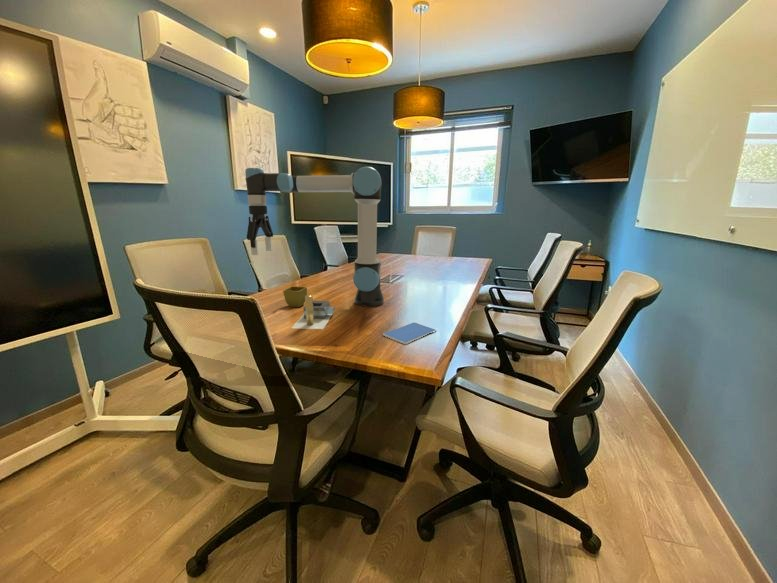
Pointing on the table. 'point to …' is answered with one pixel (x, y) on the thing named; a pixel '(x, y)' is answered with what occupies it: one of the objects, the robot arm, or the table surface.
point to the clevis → (320, 309)
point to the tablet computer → (408, 333)
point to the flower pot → (295, 296)
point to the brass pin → (309, 310)
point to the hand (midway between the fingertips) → (262, 252)
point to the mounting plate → (317, 325)
